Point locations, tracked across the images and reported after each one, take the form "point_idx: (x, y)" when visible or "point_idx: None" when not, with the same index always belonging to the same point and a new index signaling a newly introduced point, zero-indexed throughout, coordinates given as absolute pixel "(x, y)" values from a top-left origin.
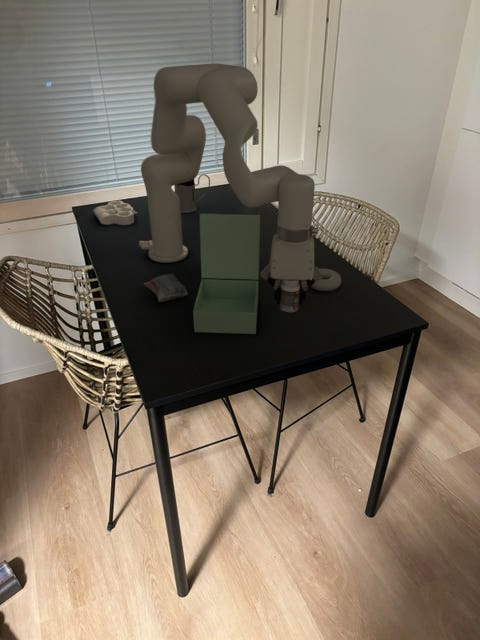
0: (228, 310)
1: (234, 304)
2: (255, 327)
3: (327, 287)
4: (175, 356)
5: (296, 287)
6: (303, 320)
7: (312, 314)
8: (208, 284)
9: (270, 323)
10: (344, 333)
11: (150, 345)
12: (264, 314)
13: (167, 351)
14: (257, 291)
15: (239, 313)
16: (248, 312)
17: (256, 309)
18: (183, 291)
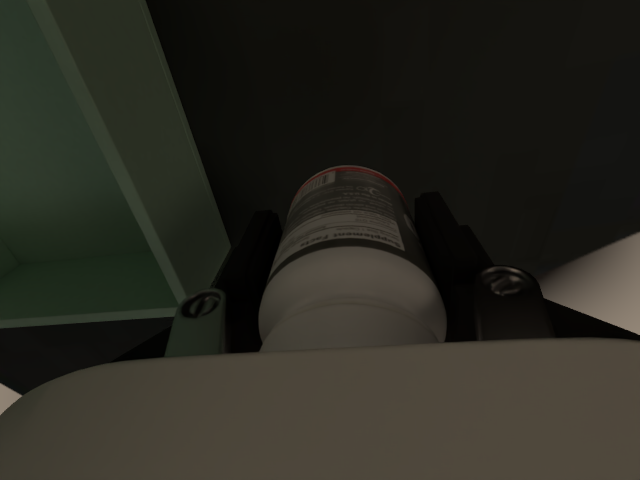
0: (32, 108)
1: (16, 32)
2: (219, 265)
3: None
4: (68, 360)
5: None
6: (422, 103)
7: (482, 20)
8: None
9: (265, 163)
10: (610, 180)
11: None
12: (214, 85)
13: (34, 348)
14: (80, 80)
15: (122, 316)
16: (157, 315)
17: (181, 288)
18: None
